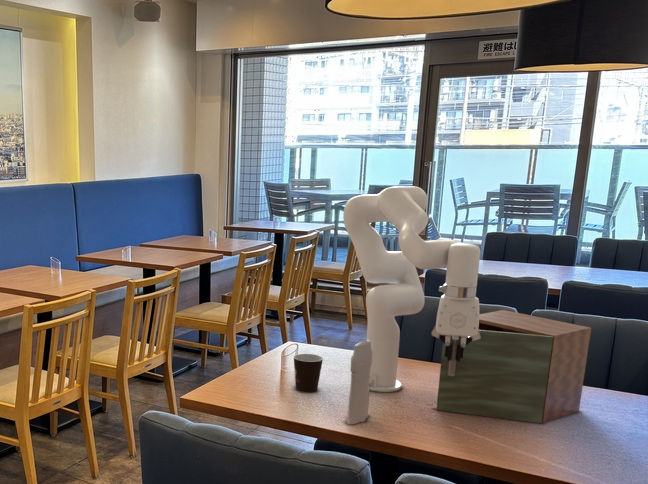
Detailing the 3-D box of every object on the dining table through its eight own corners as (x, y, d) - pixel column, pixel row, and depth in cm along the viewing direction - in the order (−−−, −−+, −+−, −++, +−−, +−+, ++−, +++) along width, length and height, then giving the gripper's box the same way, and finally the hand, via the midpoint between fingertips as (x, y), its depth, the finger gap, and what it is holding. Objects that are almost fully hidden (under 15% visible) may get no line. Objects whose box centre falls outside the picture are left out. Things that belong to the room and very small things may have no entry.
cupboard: (542, 422, 192) (554, 335, 186) (458, 395, 214) (466, 316, 208) (579, 411, 200) (591, 327, 194) (494, 385, 222) (503, 309, 216)
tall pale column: (354, 426, 190) (360, 346, 184) (340, 422, 192) (345, 343, 187) (374, 416, 197) (379, 338, 192) (360, 412, 200) (365, 335, 194)
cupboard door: (543, 431, 185) (555, 342, 180) (435, 417, 196) (443, 332, 190) (541, 422, 192) (552, 336, 186) (436, 408, 202) (444, 326, 197)
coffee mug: (315, 395, 214) (317, 363, 211) (288, 390, 218) (289, 359, 216) (328, 384, 223) (329, 354, 221) (301, 380, 228) (303, 350, 225)
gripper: (428, 292, 185) (421, 361, 190) (495, 296, 180) (487, 366, 185) (427, 287, 192) (421, 353, 197) (492, 291, 187) (484, 359, 191)
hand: (453, 359), depth 191 cm, fingers closed on cupboard door
